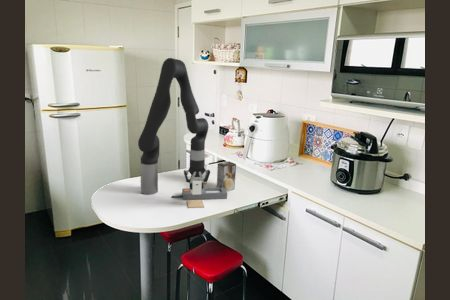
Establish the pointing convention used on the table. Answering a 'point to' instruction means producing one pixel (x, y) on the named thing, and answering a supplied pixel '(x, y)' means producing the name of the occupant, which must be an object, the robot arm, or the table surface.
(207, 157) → the cup
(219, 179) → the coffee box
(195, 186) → the charger
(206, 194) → the power strip
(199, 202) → the cork mat
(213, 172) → the table surface
